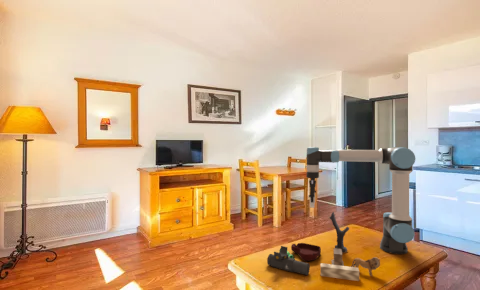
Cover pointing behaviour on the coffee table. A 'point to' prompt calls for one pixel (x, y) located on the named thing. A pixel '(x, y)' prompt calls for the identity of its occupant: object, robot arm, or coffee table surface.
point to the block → (340, 272)
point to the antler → (339, 234)
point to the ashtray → (306, 251)
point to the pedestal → (337, 257)
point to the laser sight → (287, 262)
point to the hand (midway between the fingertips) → (312, 205)
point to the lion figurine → (367, 264)
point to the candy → (289, 255)
